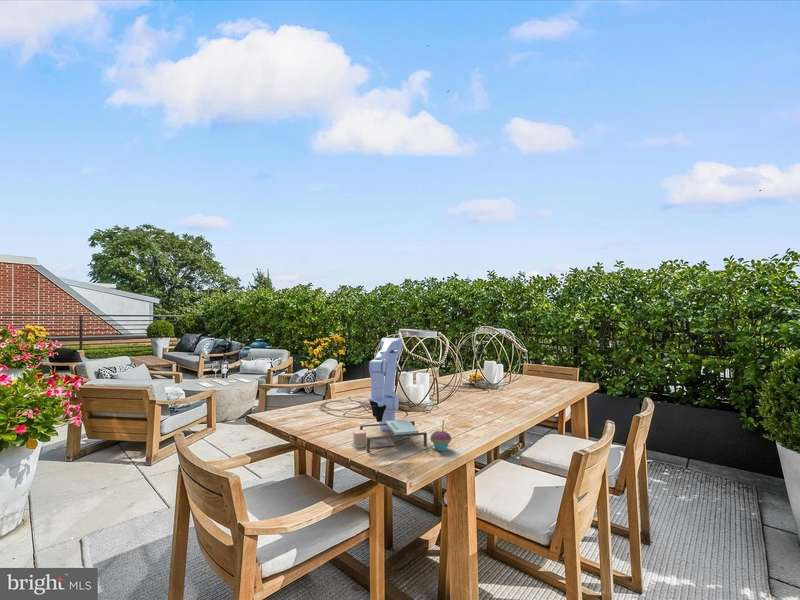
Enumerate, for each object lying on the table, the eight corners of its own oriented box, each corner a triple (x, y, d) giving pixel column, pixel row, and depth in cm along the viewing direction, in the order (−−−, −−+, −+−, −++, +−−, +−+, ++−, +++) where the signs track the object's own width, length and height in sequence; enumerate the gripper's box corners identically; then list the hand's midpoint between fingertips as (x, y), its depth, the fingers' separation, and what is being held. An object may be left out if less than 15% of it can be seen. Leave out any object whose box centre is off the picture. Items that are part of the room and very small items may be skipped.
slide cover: (385, 423, 173) (385, 420, 173) (407, 421, 176) (407, 419, 176) (395, 435, 157) (395, 432, 157) (418, 433, 160) (418, 430, 160)
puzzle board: (347, 440, 169) (348, 426, 170) (413, 435, 177) (413, 421, 177) (353, 455, 152) (354, 439, 152) (426, 448, 160) (426, 433, 160)
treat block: (353, 442, 163) (353, 430, 163) (364, 441, 164) (364, 429, 165) (355, 446, 159) (355, 433, 159) (366, 445, 160) (366, 432, 160)
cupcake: (438, 444, 165) (438, 415, 166) (455, 448, 160) (455, 419, 160) (426, 449, 159) (426, 420, 159) (444, 454, 153) (444, 423, 154)
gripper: (365, 384, 174) (365, 415, 174) (371, 391, 160) (371, 424, 160) (381, 384, 176) (381, 414, 176) (388, 390, 162) (388, 423, 162)
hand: (377, 419), depth 168 cm, fingers open, 7 cm apart
